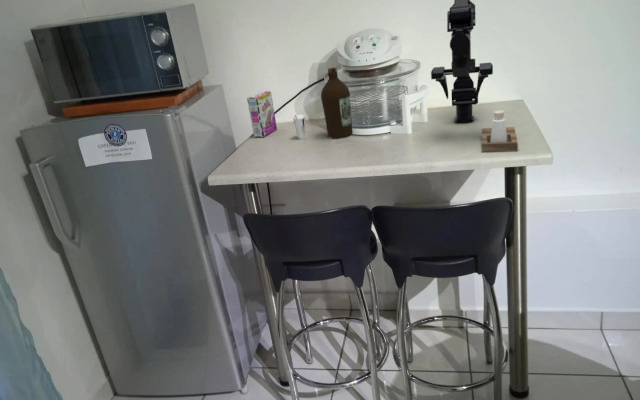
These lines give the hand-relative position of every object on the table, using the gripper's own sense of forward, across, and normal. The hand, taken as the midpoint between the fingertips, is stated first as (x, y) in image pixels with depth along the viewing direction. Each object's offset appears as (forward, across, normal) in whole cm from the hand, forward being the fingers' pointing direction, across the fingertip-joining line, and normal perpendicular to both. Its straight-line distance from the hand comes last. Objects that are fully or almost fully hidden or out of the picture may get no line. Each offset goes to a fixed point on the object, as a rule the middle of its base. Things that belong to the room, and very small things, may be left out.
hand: (462, 97), depth 159 cm
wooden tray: (+13, +11, -9) cm, 19 cm away
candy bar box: (+13, -79, +15) cm, 81 cm away
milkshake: (+13, -60, +6) cm, 62 cm away
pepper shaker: (+13, +11, -12) cm, 21 cm away
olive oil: (+13, -45, +8) cm, 48 cm away
